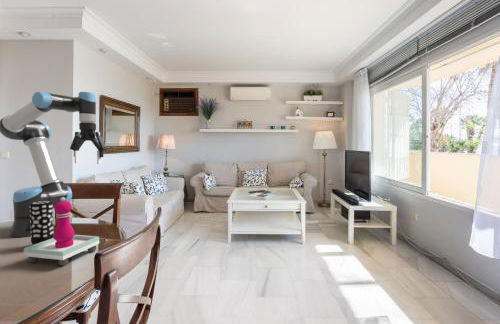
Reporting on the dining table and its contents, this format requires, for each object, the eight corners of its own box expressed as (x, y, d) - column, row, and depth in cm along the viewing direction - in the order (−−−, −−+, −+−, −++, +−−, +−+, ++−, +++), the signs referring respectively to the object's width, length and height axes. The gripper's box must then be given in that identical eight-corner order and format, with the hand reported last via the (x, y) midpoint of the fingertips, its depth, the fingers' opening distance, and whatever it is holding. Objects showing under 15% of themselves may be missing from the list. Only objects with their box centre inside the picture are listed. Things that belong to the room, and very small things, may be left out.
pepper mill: (50, 249, 108) (48, 199, 107) (57, 243, 115) (55, 196, 114) (71, 247, 110) (69, 198, 109) (77, 241, 117) (75, 195, 116)
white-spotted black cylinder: (51, 241, 130) (49, 199, 129) (56, 245, 125) (55, 202, 124) (29, 246, 124) (27, 202, 123) (34, 250, 119) (32, 205, 117)
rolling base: (24, 263, 106) (23, 248, 105) (65, 247, 123) (64, 233, 123) (63, 268, 102) (62, 252, 101) (99, 250, 119) (99, 236, 119)
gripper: (113, 123, 143) (114, 163, 144) (73, 123, 148) (74, 162, 149) (103, 121, 135) (104, 164, 137) (61, 122, 141) (62, 163, 142)
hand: (88, 163), depth 143 cm, fingers open, 13 cm apart
